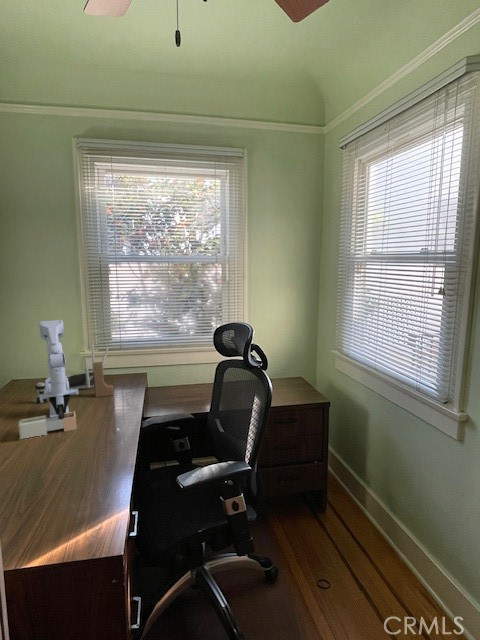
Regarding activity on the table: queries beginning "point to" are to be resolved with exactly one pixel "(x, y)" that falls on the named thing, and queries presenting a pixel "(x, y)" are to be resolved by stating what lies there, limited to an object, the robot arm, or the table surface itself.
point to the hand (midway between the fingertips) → (61, 412)
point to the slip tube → (56, 419)
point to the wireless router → (85, 375)
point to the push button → (40, 387)
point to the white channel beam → (32, 427)
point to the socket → (70, 421)
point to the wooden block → (101, 382)
